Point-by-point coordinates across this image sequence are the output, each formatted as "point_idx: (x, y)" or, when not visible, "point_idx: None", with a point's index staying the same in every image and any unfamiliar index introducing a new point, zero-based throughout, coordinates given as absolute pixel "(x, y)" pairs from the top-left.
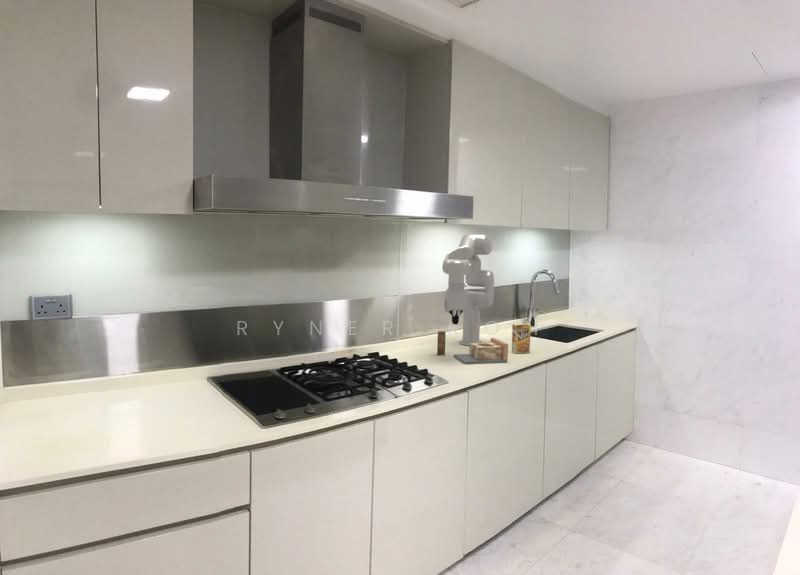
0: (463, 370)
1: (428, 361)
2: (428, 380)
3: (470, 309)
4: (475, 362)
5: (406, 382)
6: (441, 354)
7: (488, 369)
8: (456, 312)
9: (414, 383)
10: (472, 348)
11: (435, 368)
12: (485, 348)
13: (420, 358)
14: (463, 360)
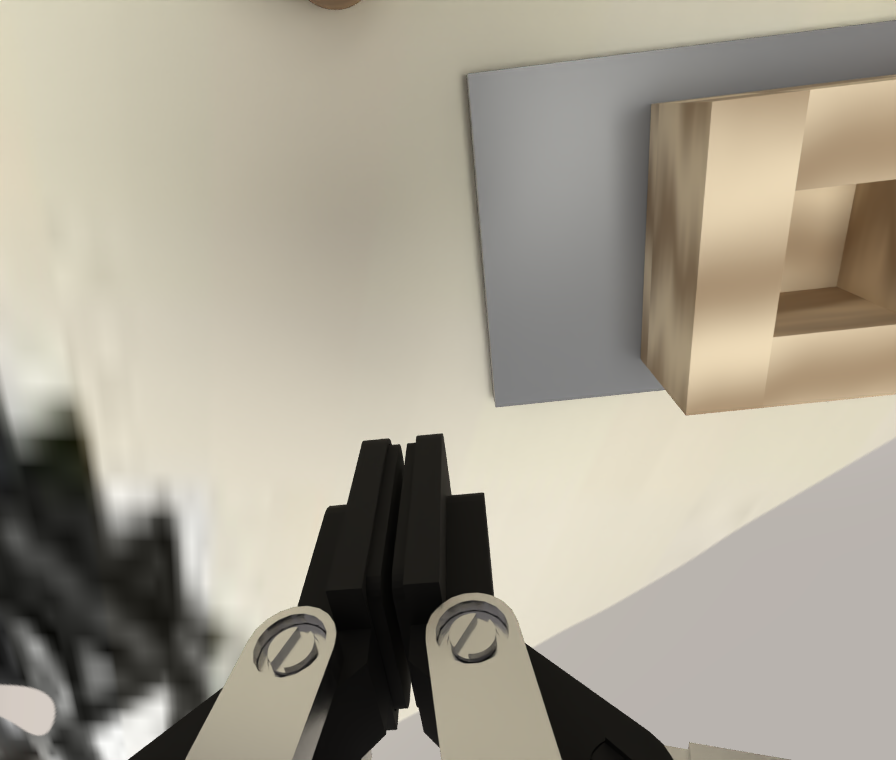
0: None
1: (177, 285)
2: (189, 711)
3: None
4: (593, 393)
5: (72, 733)
6: (327, 5)
7: (621, 535)
8: (446, 728)
9: (117, 745)
10: (680, 213)
11: (236, 501)
12: (764, 401)
13: (85, 148)
14: (497, 363)
